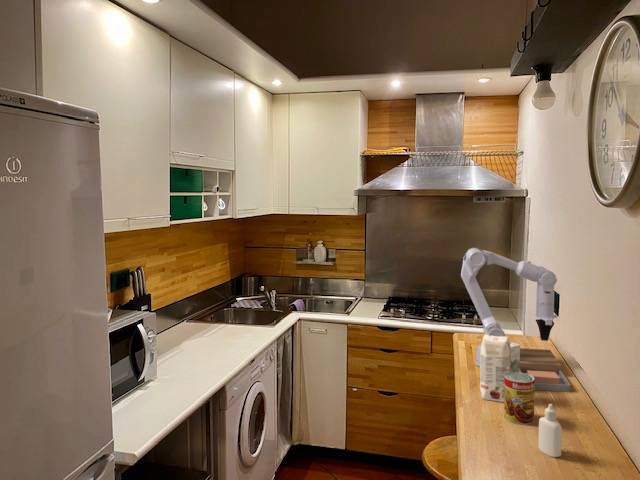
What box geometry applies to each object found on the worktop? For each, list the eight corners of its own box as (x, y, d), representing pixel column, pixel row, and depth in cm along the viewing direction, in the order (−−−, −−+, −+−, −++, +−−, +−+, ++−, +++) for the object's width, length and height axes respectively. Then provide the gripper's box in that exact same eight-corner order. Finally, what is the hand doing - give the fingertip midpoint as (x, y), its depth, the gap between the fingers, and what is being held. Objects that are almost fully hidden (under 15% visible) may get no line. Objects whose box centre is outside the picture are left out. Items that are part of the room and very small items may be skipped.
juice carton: (508, 404, 150) (509, 342, 148) (479, 399, 153) (479, 339, 152) (510, 395, 157) (511, 335, 155) (482, 391, 160) (482, 333, 159)
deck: (560, 376, 172) (561, 365, 172) (517, 373, 175) (517, 362, 175) (549, 360, 189) (550, 349, 189) (510, 357, 193) (510, 347, 192)
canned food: (518, 426, 135) (518, 383, 134) (497, 415, 142) (498, 374, 141) (540, 421, 138) (541, 379, 137) (519, 410, 145) (519, 370, 144)
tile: (555, 372, 170) (555, 377, 170) (527, 370, 172) (526, 376, 172) (559, 378, 164) (559, 384, 164) (530, 376, 166) (530, 382, 166)
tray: (571, 392, 158) (571, 385, 158) (524, 388, 162) (524, 382, 161) (560, 376, 172) (561, 370, 172) (517, 373, 175) (517, 368, 175)
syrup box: (503, 382, 168) (504, 339, 167) (519, 387, 163) (520, 343, 162) (493, 386, 164) (494, 342, 163) (509, 391, 160) (510, 347, 159)
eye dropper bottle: (555, 447, 124) (556, 400, 123) (562, 458, 118) (563, 409, 117) (537, 445, 125) (538, 399, 124) (542, 457, 119) (543, 408, 118)
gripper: (562, 307, 171) (561, 346, 172) (552, 299, 185) (552, 335, 186) (539, 306, 172) (539, 345, 173) (532, 298, 186) (531, 334, 187)
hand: (544, 340), depth 180 cm, fingers closed
